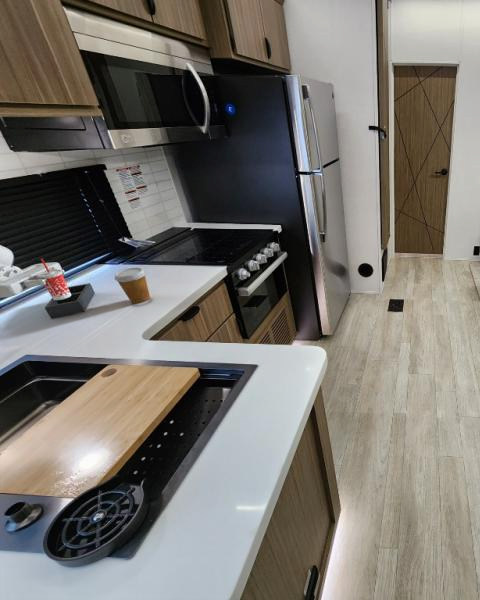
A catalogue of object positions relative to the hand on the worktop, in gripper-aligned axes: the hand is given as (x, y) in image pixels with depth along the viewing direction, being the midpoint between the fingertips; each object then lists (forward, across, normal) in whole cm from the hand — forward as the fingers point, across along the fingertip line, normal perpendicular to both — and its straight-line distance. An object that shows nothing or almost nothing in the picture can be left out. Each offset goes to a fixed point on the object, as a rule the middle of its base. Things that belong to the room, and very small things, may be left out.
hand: (54, 277), depth 110 cm
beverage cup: (-1, 0, -8) cm, 8 cm away
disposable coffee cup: (+14, -14, -17) cm, 26 cm away
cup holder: (-10, -12, -17) cm, 23 cm away
